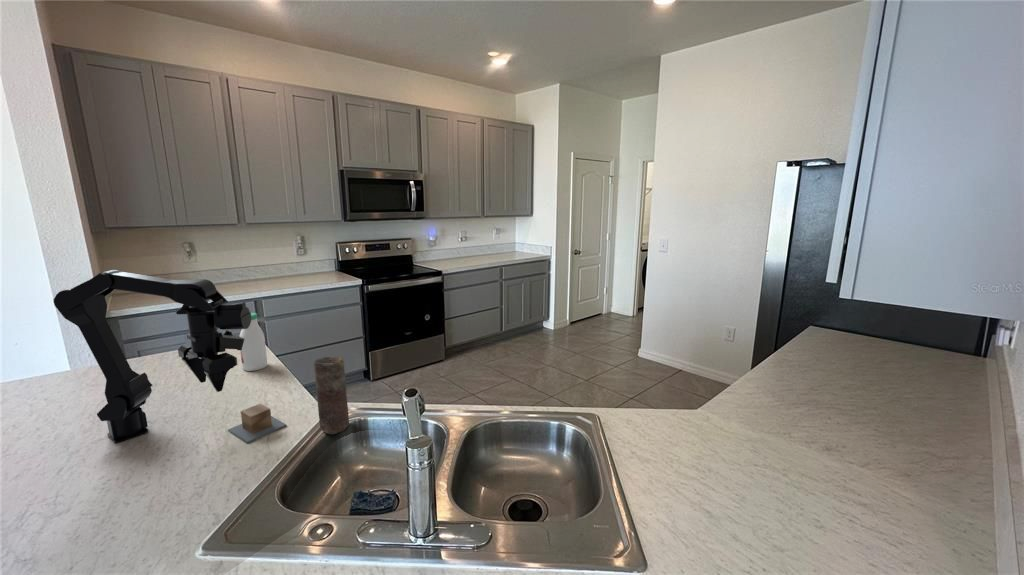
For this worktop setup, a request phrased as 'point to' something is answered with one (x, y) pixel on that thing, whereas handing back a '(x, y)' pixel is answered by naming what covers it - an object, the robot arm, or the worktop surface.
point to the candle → (331, 394)
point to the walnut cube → (256, 418)
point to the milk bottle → (253, 346)
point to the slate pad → (249, 437)
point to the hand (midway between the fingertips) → (211, 386)
